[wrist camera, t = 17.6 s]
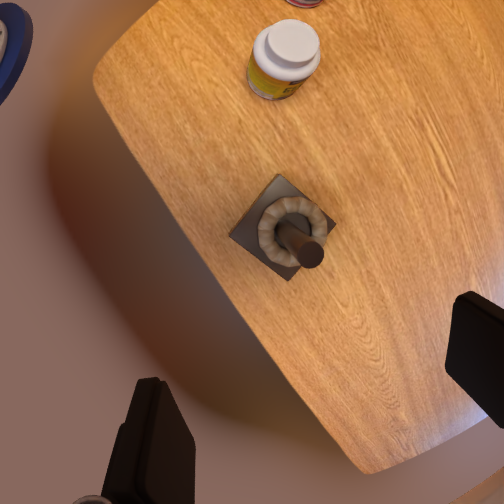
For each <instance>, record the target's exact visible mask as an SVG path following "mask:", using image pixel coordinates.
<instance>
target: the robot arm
mask: <svg viewBox="0 0 504 504" xmlns="http://www.w3.org/2000/svg"><path fill="white" fill-rule="evenodd" d="M7 38H8V32H7V27H6V25H5V23H4V22H3V21H1V20H0V63H1V60H2V58H3V55H4V52H5V49H6V45H7ZM445 369H446V372H447V373H448V375H449V376H450V377H451V378H452V379H453V380H454V381H455V382H456V383H457V384H458V385H459V386H460V387H461V388H462V389H463V390H464V391H465V392H466V393H467V394H468V395H469V396H470V397H471V398H472V399H473V400H474V401H475V402H476V403H477V404H478V405H479V406H480V407H481V408H482V409H483V410H484V411H485V412H486V414H487V415H488V416H489V417H490V418H491V419H492V420H493V421H494V422H495V423H496V424H497V425H498V426H499V427H500V428H503V429H504V309H502V308H501V307H499V306H497V305H496V304H494V303H492V302H491V301H489V300H487V299H486V298H484V297H482V296H481V295H479V294H477V293H475V292H473V291H468V292H466V293H464V294H461V295H459V296H458V297H457V298H456V300H455V302H454V304H453V310H452V320H451V328H450V336H449V343H448V349H447V355H446V361H445ZM195 447H196V446H195V441H194V438H193V436H192V434H191V432H190V431H189V429H188V427H187V425H186V423H185V421H184V419H183V417H182V415H181V413H180V411H179V409H178V406H177V404H176V402H175V400H174V398H173V396H172V393H171V391H170V389H169V387H168V385H167V383H166V382H165V381H160V380H159V378H158V377H152V378H144V379H139V380H138V382H137V384H136V387H135V391H134V394H133V397H132V400H131V404H130V407H129V410H128V414H127V417H126V420H125V423H123V424H121V426H120V428H119V430H118V434H117V437H116V441H115V444H114V447H113V451H112V455H111V458H110V462H109V465H108V469H107V473H106V476H105V481H104V484H103V488H102V492H101V496H97V495H88V496H84V497H82V498H79V499H78V500H76V501H75V502H74V503H73V504H195V453H196V448H195ZM449 504H504V467H502V468H501V469H500V470H498V471H497V472H496V473H494V474H493V475H492V476H490V477H489V478H488V479H486V480H485V481H483V482H482V483H480V484H479V485H477V486H476V487H474V488H473V489H471V490H470V491H468V492H467V493H465V494H464V495H462V496H461V497H459V498H457V499H456V500H454V501H452V502H451V503H449Z"/></svg>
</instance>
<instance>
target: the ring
mask: <svg viewBox="0 0 504 504" xmlns="http://www.w3.org/2000/svg"><path fill="white" fill-rule="evenodd" d="M289 213H299V214H301V215H303V216H305V217H306V218H307V219H308V221H309V222H310V224H311V230H312V235H311V238H312V239H314V240H315V241H316V242H318V243H319V244H320V245H321V246H322V248H323V246H324V244H325V242H326V240H327V237H328V235H327V220H326V218H325V216H324V215H323V213H322V212H321V210H320V209H319V207H318V206H317V204H315V203H313V202H311V201H309V200H307V199H305V198H303V197H300V196H295V197H284V198H280V199H279V200H277V201H276V202H274V203H273V204H272V205H270V206H269V207H267V208H266V209H265V211H264V213H263V215H262V217H261V220H260V222H259V224H258V238H259V245H260V247H261V248H262V250H263V251H264V252H265V254H266V255H267V257H268V258H269V259H270V260H271V261H273V262H276V263H278V264H281V265H283V266H285V267H293V266H300V264H299V262H298V261H297V260H296V259H295V257H294V256H293V255H292V254H291V253H290V251H288V250H286V249H284V248H281V247H280V246H279V244H278V243H277V241H276V240H275V233H274V229H275V227H276V224H277V222H278V220H279V219H280V218H282V217H283V216H285V215H286V214H289Z"/></svg>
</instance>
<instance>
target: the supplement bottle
mask: <svg viewBox="0 0 504 504" xmlns="http://www.w3.org/2000/svg"><path fill="white" fill-rule="evenodd" d="M319 46H320V42H319V38H318V35H317V33H316V32H315V30H314V29H313V28H312V27H311V26H309V25H308V24H306V23H304V22H302V21H299V20H295V19H285V20H281V21H279V22H277V23H275V24H274V25H271V26H269V27H267V28H265V29H264V30H262V31H261V32H260V33H259V34H258V36H257V38H256V40H255V42H254V45H253V49H252V53H251V57H250V61H249V65H248V68H247V80H248V83H249V85H250V87H251V88H252V90H253V91H254V92H255V93H256V94H258V95H259V96H261V97H263V98H266V99H270V100H280V99H284V98H287V97H289V96H290V95H292V94H293V93H294V92H295V91H296V90H297V89H298V88H299V87H300V86H301V85H302V84H303V83H304V82H305V81H306V80H307V79H308V77H310V75H312V73H313V72H314V71H315V70H316V68H317V67H318V65H319V62H320V48H319Z"/></svg>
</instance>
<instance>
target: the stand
mask: <svg viewBox="0 0 504 504" xmlns="http://www.w3.org/2000/svg"><path fill="white" fill-rule="evenodd" d="M295 196H300V197H303V198H305V199H307V200H309V201H311V200H310V199H308V198H307V197H306V196H305V195H304V194H303V193H302V192H300V191H299V190H298V189H297V188H296V187H295V186H293V185H292V184H291V183H290V182H289V181H288V180H286V179H285V178H284V177H283V176H282V175H280V174H277V175H276V176H275V177H274V178H273V180H272V181H271V182H270V183H269V184H268V186H267V187H266V188H265V189H264V190H263V192H262V193H261V194H260V195H259V197H258V198H257V199H256V200H255V201H254V203H253V204H252V205H251V206H250V208H249V209H248V210H247V211H246V212H245V214H244V215H243V216H242V217H241V219H240V220H239V221H238V222H237V224H236V225H235V226H234V227H233V229H232V230H231V231H230V232H229V234H228V235H229V237H230V238H232V239H233V240H234V241H236V242H237V243H238V244H239V245H241V246H242V247H243V248H245V249H246V250H247V251H249V252H250V253H251V254H252V255H254V256H255V257H256V258H258V259H259V260H260V261H262V262H263V263H264V264H265V265H267V266H268V267H269V268H271V269H272V270H273V271H275V272H276V273H277V274H278V275H280V276H281V277H282V278H284V279H285V280H286V281H289V280H290V279H291V278H292V277H293V276H294V274H295V273H296V272H297V271H298V270H299V269H300V267H301V266H303V267H304V268H309V269H310V268H315V267H317V266H318V265H319V264H320V263H321V262H322V260H323V258H324V250H323V248H322V246H321V245H320V244H319V243H318V242H316V241H315V240H314V239H312V238H311V235H312V230H311V224H310V222H309V221H308V219H307V218H306V217H305V216H303V215H301V214H299V213H289V214H286V215H285V216H283V217H282V218H280V219H279V220H278V222H277V224H276V227H275V229H274V233H275V240H276V241H277V243H278V244H279V246H280V247H281V248H284V249H286V250H288V251H290V253H291V254H292V255H293V256H294V257H295V259H296V260H297V261H298V262H299V264H300V266H293V267H285V266H283V265H281V264H278V263H276V262H273V261H271V260H270V259H269V258H268V257H267V255H266V254H265V252H264V251H263V250H262V248H261V247H260V245H259V238H258V224H259V222H260V220H261V217H262V215H263V213H264V211H265V209H266V208H267V207H269V206H270V205H272V204H273V203H274V202H276V201H277V200H279V199H280V198H284V197H295ZM311 202H312V201H311ZM319 209H320V208H319ZM320 210H321V209H320ZM321 212H322V213H323V215H324V216H325V218H326V220H327V235H328V234H329V233H330V231H331V230H332V229H333V228H334V226H335V225H336V223H335V222H334V221H333V220H332V219H331V218H330V217H329V216H328V215H326V214H325V213H324V212H323V211H322V210H321Z"/></svg>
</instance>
